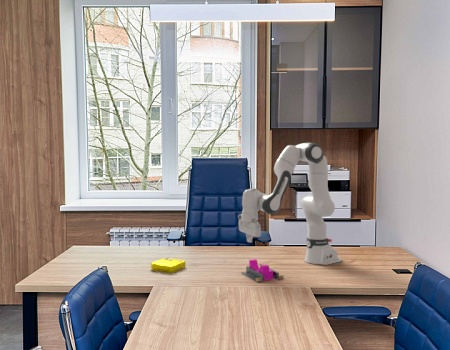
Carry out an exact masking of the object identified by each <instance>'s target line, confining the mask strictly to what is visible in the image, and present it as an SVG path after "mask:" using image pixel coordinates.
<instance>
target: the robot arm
mask: <svg viewBox="0 0 450 350" xmlns="http://www.w3.org/2000/svg"><path fill="white" fill-rule="evenodd" d="M327 160H328V158H327V157H326V156H325V155H324V152H323V148H322V146H321V145H320V144H318V143H315V142H304V143H303V142H299V143H297V144H295V145H293V144H291V145H290V144H288V145H286V147H285V148H284V149H283V150H282V151H281V153H280V154H279V157H277V159H276V161H275V163H274V167H273V172H274V174H275V175H276V177H277V182H276V184H275V186H274V188H273V190H272V193H271V194H266V193H264V192H261V191H259V189H257V188H254V187H252V188H246V189H245V190H244V191H243V194H242V201H241V205H242V211H241V214H238V215H237V218H238V231H239V232H242V233H244V234H245V237H246V242H247V243H253V239H254V238H261V236H262V229H261V228H262V227H261V223H260V222H259V220H258V219H259V214H258V213H259V211H262V212H263V213H266V214H268V215H277V213H278V212H280V210H281V208H282V202H283V198H284V196H285V193H286V192H287V189H288V187H289V184H290V182H291V179H292V174H293V173H294V170H295V168H296V167H297V165H298V163H299V162H305V163H307V164H308V167H309V168H308V188H309V189H310V191H311V195H305V196H304V197H302V199H301V201H300V207H301V210H303V213H304V216H305V220H306V224H307V225H306V226H307V227H306V228H307V237H306V251H305V252H306V253H305V257H304V262H306V263H307V264H314V265H322V266H327V265H331V264H335V263H339V262H342V260H343V259H342V258H341V257H339V254H338V251H337V249H336V248H334V246H332V245H330V243H332V242H333V239H332V238H327V224H326V222H325V221H324V217H330V216H332V215H333V214H334V212H335V208H336V206H335V202H333V200H332V198H331V195H330V191H329V187H328V183H329V181H328V179H329V178H328V177H329V173H328V172H329V165H328V161H327Z"/></svg>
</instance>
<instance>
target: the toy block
mask: <svg viewBox="0 0 450 350" xmlns="http://www.w3.org/2000/svg"><path fill="white" fill-rule="evenodd" d="M248 263H249V265H248V266H249V267H251V268H253V269H255V270H256V271H258V272H260V273H262V274H264V281H269V280H273V279H274V278H273V271H272V270H273V269H272V270H270V269H271V268H270V265H268V264H262V265H261V264H258V260H257V259H256V258H254V259H249V260H248ZM269 268H270V269H269Z"/></svg>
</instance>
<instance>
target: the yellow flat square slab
mask: <svg viewBox="0 0 450 350" xmlns="http://www.w3.org/2000/svg"><path fill="white" fill-rule="evenodd" d="M150 264H151V265H150V269H151V270H150V271H152V272H153V271H154V272H159V273H166V274H174V273H177V272H178V271H181V270H183V269H185V268H186V260H185V259H179V258H171V257H163V258H160V259H158V260H155V261H153V262H151V263H150Z"/></svg>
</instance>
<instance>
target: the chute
mask: <svg viewBox="0 0 450 350" xmlns="http://www.w3.org/2000/svg"><path fill="white" fill-rule="evenodd" d="M260 265H263V264H262V263H260ZM269 269H270V270H272V271H273V279H275V280H282V279H284V275H283V274H279V272H278V271H277V270H274V269H272V268H270V267H269ZM245 270H246V271H242V272H240V273H241V275H244V276H245V277H247V278H249V279H251V280H253V281H254V282H255V283H263V282H265V280H264V274H262V273H260V272H258V271H256V270H255V269H253V268H251V267H249V265H248V266H246V268H245Z"/></svg>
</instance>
